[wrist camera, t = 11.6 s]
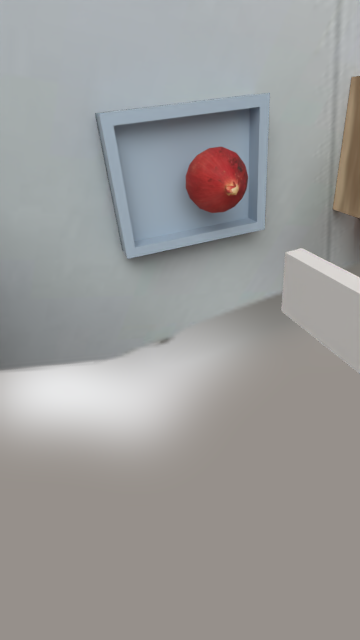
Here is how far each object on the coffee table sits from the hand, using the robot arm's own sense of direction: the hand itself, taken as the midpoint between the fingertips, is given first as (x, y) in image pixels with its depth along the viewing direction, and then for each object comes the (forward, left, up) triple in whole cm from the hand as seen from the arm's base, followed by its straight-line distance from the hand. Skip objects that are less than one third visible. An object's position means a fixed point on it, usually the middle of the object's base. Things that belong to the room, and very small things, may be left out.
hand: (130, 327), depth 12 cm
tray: (+11, 0, -26) cm, 28 cm away
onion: (+13, 0, -25) cm, 28 cm away
